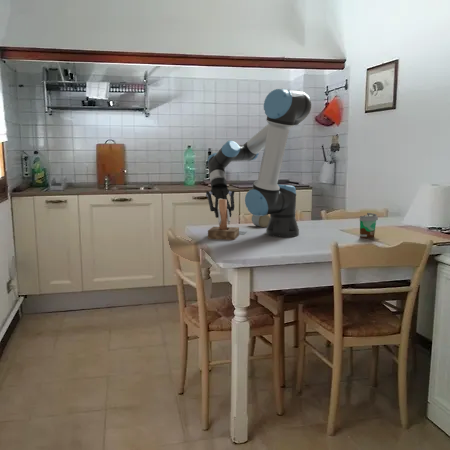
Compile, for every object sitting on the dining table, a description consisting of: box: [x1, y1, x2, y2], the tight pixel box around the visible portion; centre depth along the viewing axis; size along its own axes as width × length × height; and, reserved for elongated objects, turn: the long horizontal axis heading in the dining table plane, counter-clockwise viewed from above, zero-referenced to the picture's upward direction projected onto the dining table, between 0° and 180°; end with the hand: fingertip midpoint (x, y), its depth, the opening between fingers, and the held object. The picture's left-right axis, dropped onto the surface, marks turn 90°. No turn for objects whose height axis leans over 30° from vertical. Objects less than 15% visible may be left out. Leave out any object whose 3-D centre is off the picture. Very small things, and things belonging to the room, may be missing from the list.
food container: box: [359, 212, 378, 239], centre depth 212 cm, size 12×6×10 cm, turn 148°
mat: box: [239, 230, 248, 236], centre depth 223 cm, size 10×8×1 cm
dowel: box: [218, 198, 228, 230], centre depth 212 cm, size 3×3×14 cm
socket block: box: [207, 226, 240, 241], centre depth 213 cm, size 12×10×4 cm
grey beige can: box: [251, 214, 270, 228], centre depth 241 cm, size 11×8×8 cm
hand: (224, 222), depth 209 cm, fingers closed on dowel, 3 cm apart
